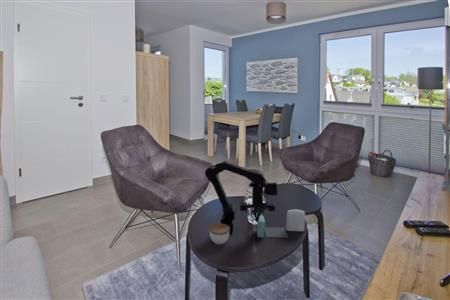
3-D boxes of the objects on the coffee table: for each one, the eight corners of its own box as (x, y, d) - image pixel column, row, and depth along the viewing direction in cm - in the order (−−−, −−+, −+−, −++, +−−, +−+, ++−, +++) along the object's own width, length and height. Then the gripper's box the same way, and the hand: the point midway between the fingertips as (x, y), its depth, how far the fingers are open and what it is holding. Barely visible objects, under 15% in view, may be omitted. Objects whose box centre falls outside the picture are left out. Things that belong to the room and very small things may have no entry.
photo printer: (286, 231, 168) (287, 211, 166) (285, 227, 173) (286, 207, 170) (304, 232, 168) (306, 211, 165) (303, 228, 172) (304, 208, 169)
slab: (257, 237, 162) (259, 221, 160) (256, 229, 169) (258, 215, 167) (263, 237, 162) (265, 222, 160) (261, 230, 169) (263, 215, 167)
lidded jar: (233, 239, 159) (233, 223, 157) (222, 249, 150) (223, 232, 148) (216, 234, 165) (216, 218, 162) (205, 243, 156) (205, 226, 153)
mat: (266, 237, 162) (266, 236, 162) (263, 227, 172) (263, 227, 172) (288, 237, 161) (288, 237, 161) (284, 228, 172) (284, 227, 172)
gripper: (240, 199, 153) (240, 227, 156) (277, 200, 152) (276, 228, 156) (239, 192, 164) (239, 218, 167) (274, 192, 163) (273, 218, 167)
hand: (256, 221), depth 164 cm, fingers closed
